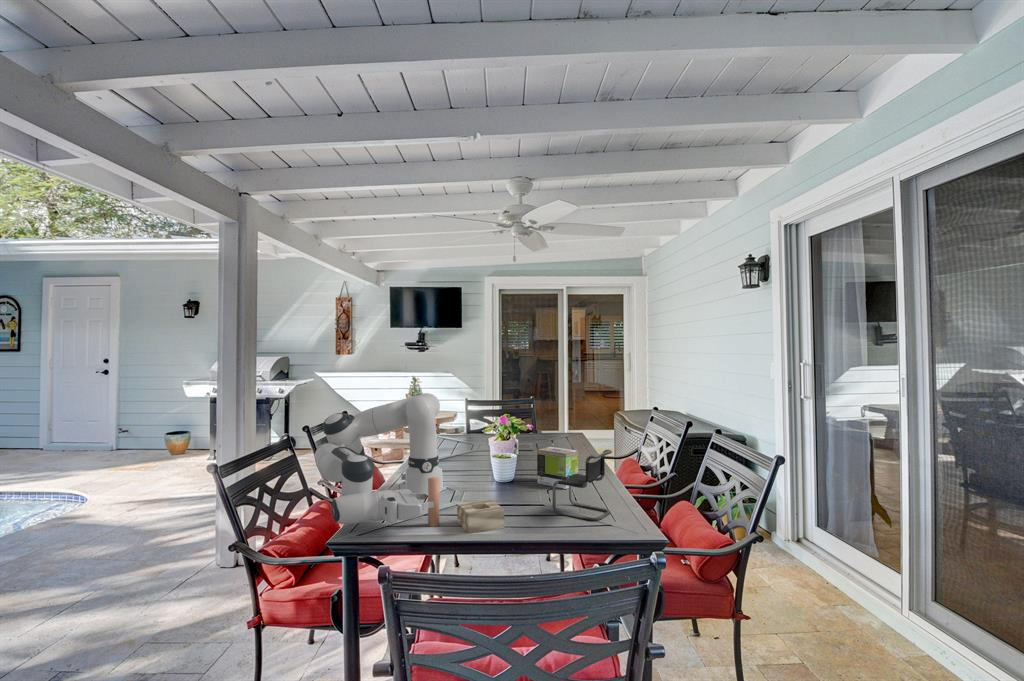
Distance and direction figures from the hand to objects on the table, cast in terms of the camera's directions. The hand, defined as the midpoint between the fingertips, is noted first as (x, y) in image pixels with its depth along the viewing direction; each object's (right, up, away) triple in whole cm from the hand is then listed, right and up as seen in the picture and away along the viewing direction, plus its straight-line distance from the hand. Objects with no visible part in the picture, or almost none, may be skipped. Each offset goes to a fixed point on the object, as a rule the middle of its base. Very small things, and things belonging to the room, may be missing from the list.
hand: (429, 499), depth 168 cm
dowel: (+1, -8, +1) cm, 8 cm away
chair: (+51, -9, +13) cm, 54 cm away
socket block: (+16, -8, +1) cm, 18 cm away
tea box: (+46, -9, +51) cm, 69 cm away
